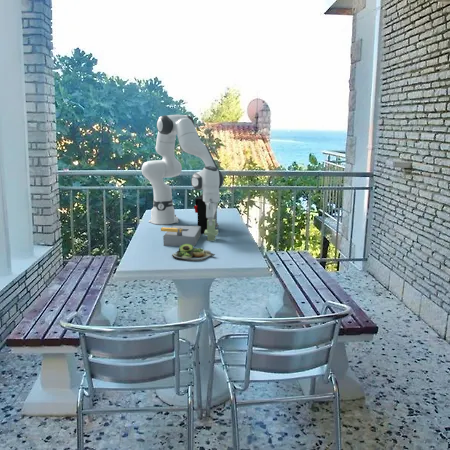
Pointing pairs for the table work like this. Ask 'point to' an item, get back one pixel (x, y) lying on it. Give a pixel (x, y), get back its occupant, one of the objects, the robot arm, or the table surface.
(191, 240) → the grey flat block
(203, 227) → the electrical component
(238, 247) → the table surface
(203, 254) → the salad plate
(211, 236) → the plug
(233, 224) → the table surface
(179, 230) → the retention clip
